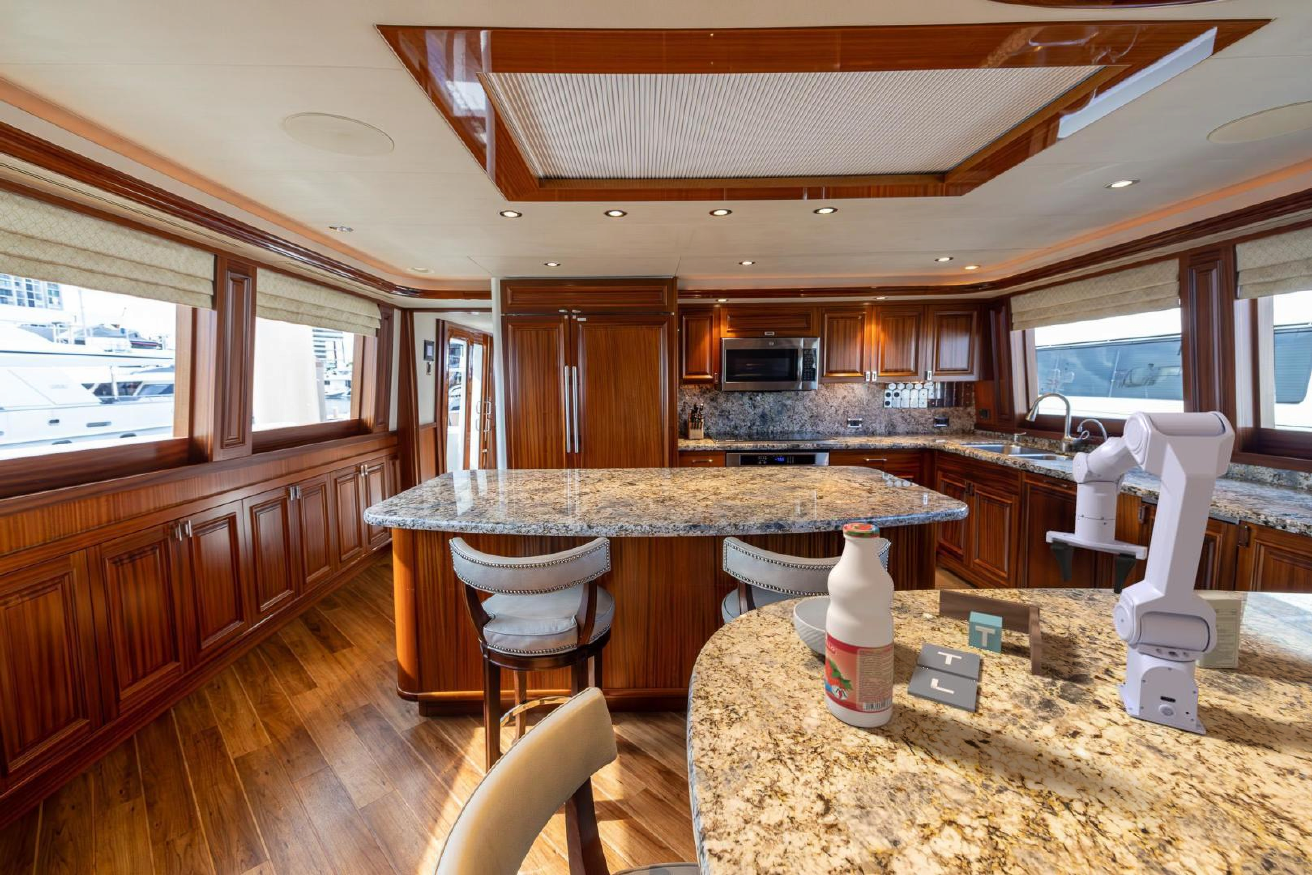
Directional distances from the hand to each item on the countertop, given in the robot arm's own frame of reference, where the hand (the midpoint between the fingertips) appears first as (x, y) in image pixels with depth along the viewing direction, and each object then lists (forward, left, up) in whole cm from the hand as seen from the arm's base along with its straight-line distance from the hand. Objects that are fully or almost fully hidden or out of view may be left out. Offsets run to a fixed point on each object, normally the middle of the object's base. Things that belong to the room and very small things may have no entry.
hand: (1091, 586), depth 98 cm
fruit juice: (-48, +31, -10) cm, 58 cm away
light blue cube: (-14, +16, -10) cm, 24 cm away
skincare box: (-1, -16, -10) cm, 19 cm away
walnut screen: (-13, +16, -10) cm, 23 cm away
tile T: (-25, +21, -10) cm, 34 cm away
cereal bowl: (-31, +38, -10) cm, 50 cm away
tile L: (-35, +21, -10) cm, 42 cm away
